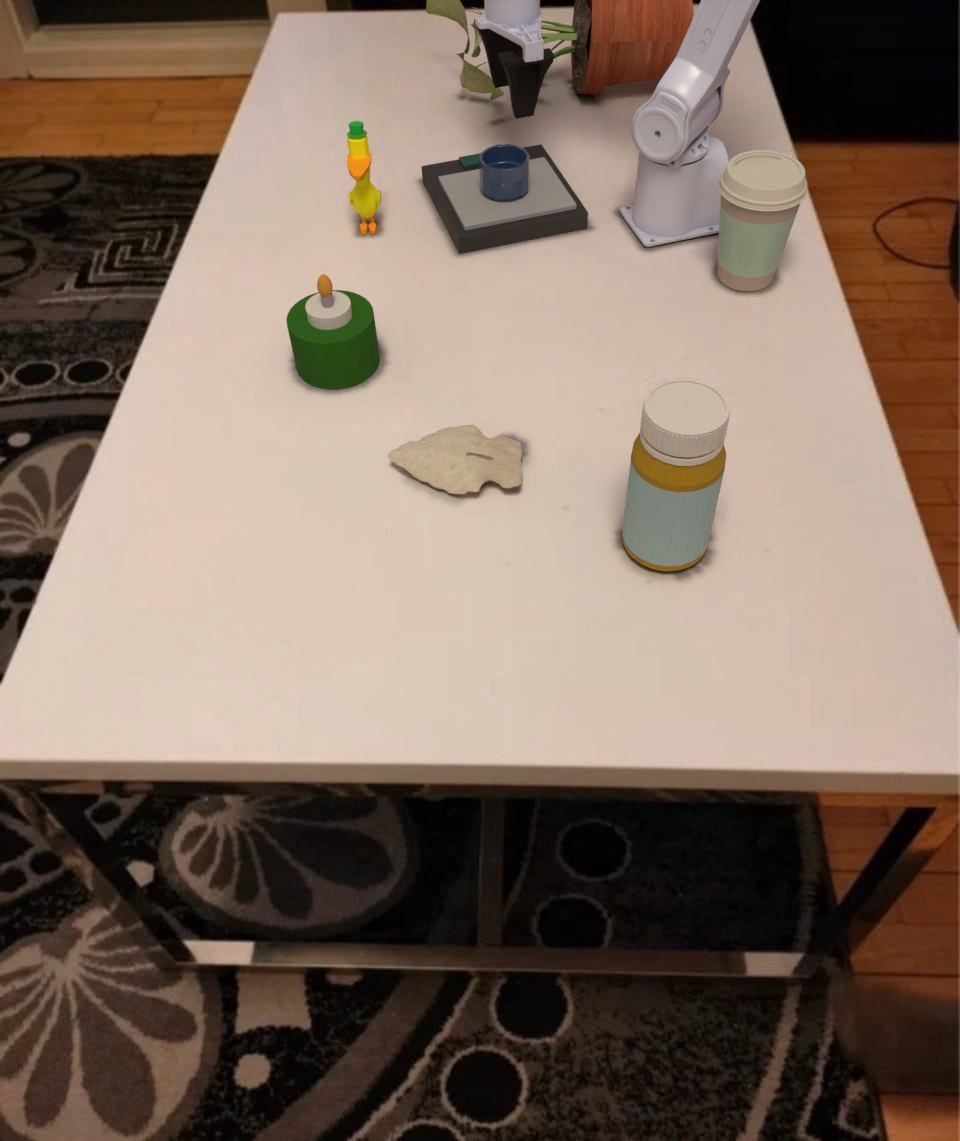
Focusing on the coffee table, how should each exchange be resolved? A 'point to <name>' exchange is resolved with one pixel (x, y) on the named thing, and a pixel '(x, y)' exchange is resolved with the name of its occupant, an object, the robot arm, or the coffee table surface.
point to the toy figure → (362, 177)
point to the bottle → (675, 474)
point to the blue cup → (504, 172)
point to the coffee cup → (757, 216)
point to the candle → (333, 337)
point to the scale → (502, 203)
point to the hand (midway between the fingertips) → (513, 100)
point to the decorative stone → (461, 459)
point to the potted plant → (596, 41)
